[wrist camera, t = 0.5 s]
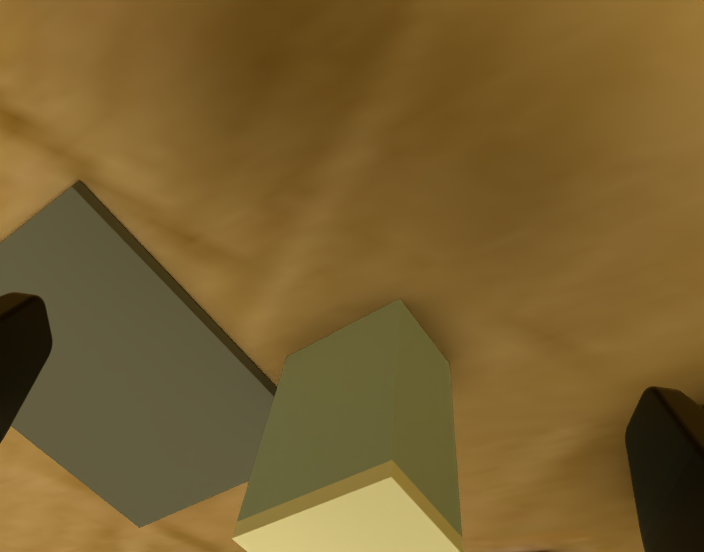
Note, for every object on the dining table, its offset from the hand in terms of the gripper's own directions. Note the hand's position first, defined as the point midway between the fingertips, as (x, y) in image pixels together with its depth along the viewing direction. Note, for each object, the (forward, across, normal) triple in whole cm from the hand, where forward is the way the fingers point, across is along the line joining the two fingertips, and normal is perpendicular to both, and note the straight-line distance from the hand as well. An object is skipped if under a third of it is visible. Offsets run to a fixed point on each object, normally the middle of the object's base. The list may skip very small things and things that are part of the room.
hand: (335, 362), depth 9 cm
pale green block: (+13, 0, +11) cm, 17 cm away
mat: (+13, +11, +14) cm, 22 cm away
